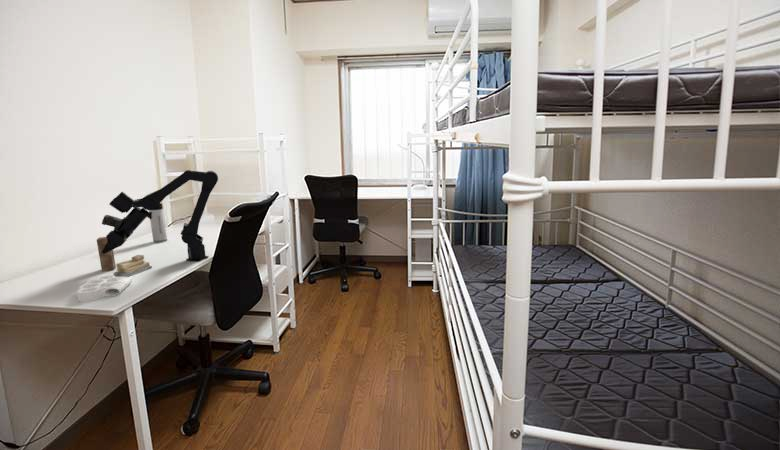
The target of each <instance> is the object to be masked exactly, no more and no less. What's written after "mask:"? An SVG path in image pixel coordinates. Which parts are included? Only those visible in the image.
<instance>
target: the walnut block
mask: <svg viewBox="0 0 780 450" xmlns="http://www.w3.org/2000/svg"><path fill="white" fill-rule="evenodd" d="M107 242H108V241H107V238H106V236H102V237H101V236H100V237H98V238H97V239H96V244H97V251H98V256H99V262H100V263H99V264H100V268H101V272H108V271H114V270H115V269H117V265H116V261H115V260H116V259H115V254H114V253H115V252H114V249H113V250H111V251H109V252H107V253H105V254H103V253H102V251H103V249H104V247H105V245H106V244H107Z"/></svg>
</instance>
